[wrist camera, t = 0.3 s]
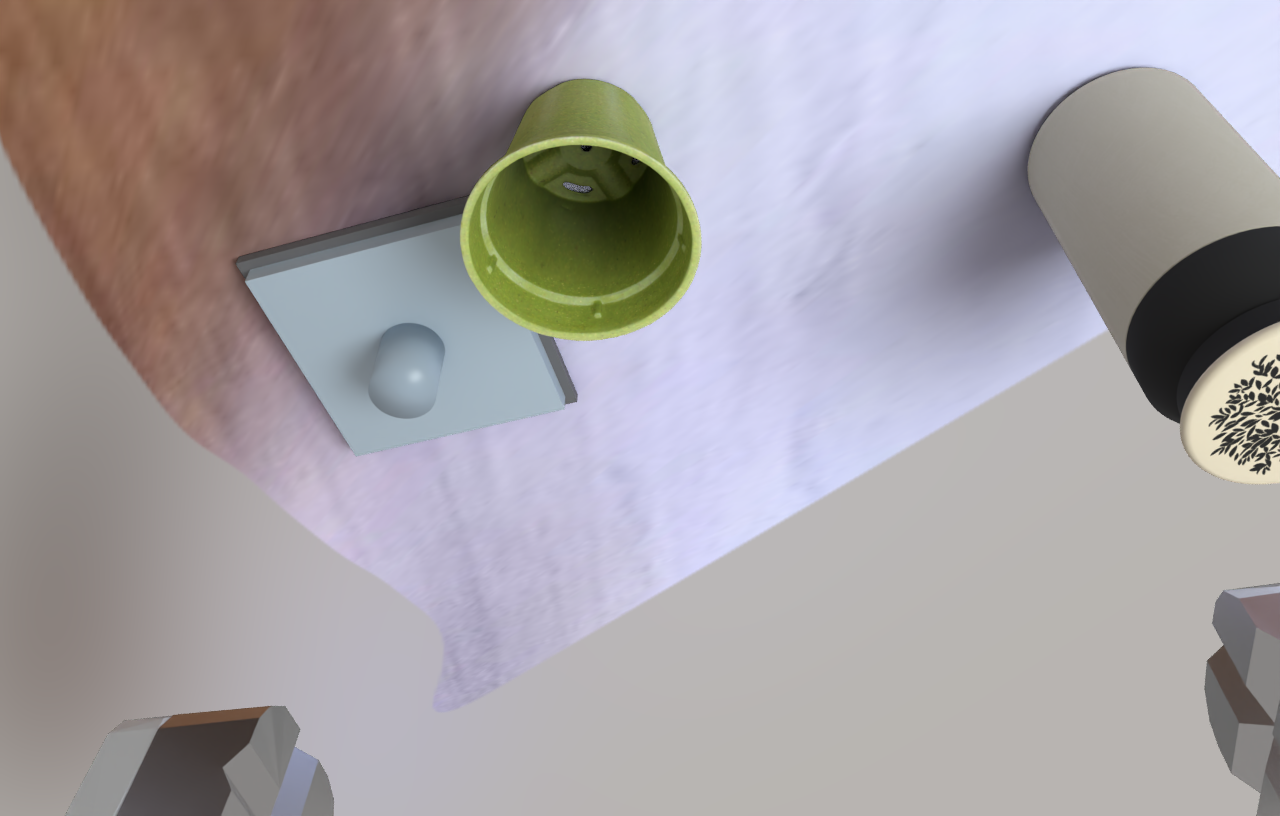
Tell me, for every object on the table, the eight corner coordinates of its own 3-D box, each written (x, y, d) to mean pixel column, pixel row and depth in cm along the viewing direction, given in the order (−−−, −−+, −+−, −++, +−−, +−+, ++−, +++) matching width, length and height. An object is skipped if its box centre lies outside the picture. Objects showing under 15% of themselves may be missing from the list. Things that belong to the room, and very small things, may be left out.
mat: (239, 257, 52) (235, 263, 52) (490, 190, 50) (489, 196, 50) (357, 444, 61) (355, 452, 60) (577, 394, 58) (577, 401, 58)
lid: (250, 269, 52) (224, 325, 49) (483, 208, 50) (472, 262, 47) (359, 443, 60) (343, 502, 56) (565, 396, 58) (561, 454, 54)
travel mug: (992, 195, 51) (1127, 462, 37) (1092, 39, 46) (1290, 279, 32) (1134, 242, 53) (1312, 512, 39) (1245, 97, 48) (1493, 347, 34)
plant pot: (668, 245, 52) (675, 356, 46) (473, 216, 51) (452, 326, 45) (711, 61, 46) (725, 158, 40) (490, 24, 45) (468, 118, 39)
